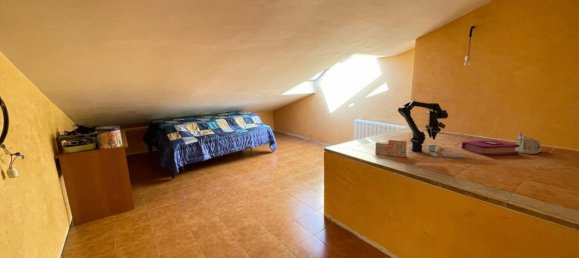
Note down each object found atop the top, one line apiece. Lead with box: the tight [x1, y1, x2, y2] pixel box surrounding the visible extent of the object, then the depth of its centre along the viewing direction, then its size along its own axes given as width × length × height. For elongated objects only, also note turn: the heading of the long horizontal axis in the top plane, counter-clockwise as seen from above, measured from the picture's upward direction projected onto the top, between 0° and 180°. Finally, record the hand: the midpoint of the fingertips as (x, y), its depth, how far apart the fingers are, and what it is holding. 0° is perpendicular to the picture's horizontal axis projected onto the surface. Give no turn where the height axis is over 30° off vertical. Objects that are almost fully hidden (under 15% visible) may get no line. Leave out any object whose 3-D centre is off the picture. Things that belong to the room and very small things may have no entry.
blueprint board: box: [427, 151, 466, 159], centre depth 178 cm, size 20×12×1 cm, turn 74°
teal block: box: [426, 143, 437, 152], centre depth 195 cm, size 5×5×5 cm
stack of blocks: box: [374, 138, 408, 158], centre depth 183 cm, size 21×6×12 cm, turn 63°
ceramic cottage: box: [515, 131, 543, 155], centre depth 183 cm, size 16×16×15 cm
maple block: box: [434, 146, 446, 155], centre depth 179 cm, size 5×5×5 cm
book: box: [461, 139, 520, 157], centre depth 186 cm, size 21×28×8 cm
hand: (432, 138), depth 193 cm, fingers open, 9 cm apart
